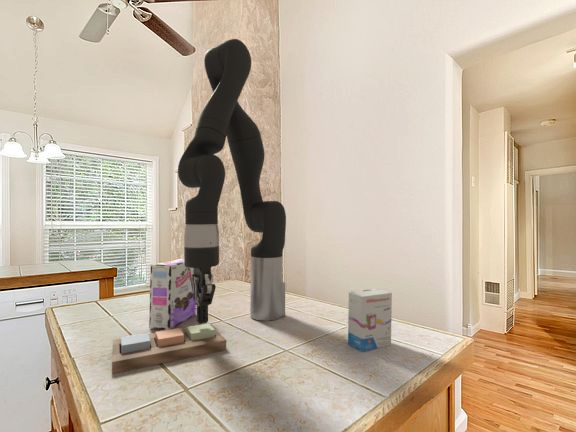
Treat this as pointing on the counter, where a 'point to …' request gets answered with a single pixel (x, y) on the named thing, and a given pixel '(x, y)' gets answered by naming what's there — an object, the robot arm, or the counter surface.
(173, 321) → the candy box
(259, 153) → the robot arm
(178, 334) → the terracotta tile
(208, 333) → the sage tile
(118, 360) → the button board
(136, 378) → the counter surface
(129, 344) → the squat grey square block
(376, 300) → the ink box
